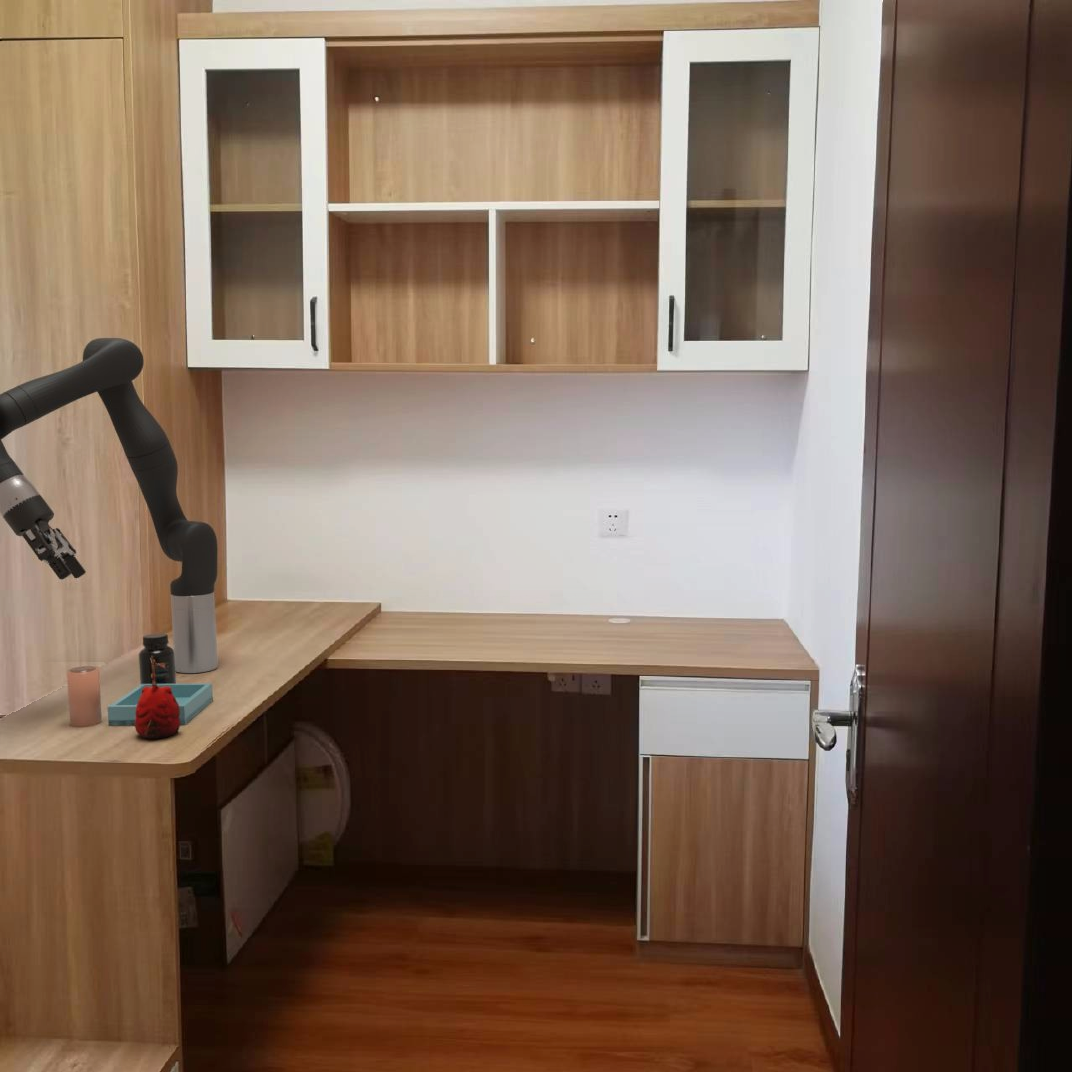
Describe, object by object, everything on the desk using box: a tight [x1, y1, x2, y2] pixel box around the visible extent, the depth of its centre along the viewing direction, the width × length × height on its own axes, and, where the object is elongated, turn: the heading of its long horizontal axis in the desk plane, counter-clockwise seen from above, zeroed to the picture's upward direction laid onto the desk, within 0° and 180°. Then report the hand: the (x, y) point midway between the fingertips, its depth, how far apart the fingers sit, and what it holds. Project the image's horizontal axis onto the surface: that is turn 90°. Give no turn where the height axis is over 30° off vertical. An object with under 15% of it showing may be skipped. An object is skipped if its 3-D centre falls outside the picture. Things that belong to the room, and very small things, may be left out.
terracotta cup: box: [66, 665, 103, 728], centre depth 186 cm, size 5×5×10 cm
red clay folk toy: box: [134, 656, 181, 740], centre depth 178 cm, size 8×7×15 cm
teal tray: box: [107, 682, 214, 726], centre depth 192 cm, size 16×14×4 cm
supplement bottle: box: [138, 633, 177, 685], centre depth 206 cm, size 7×7×12 cm
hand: (74, 576), depth 188 cm, fingers open, 8 cm apart
